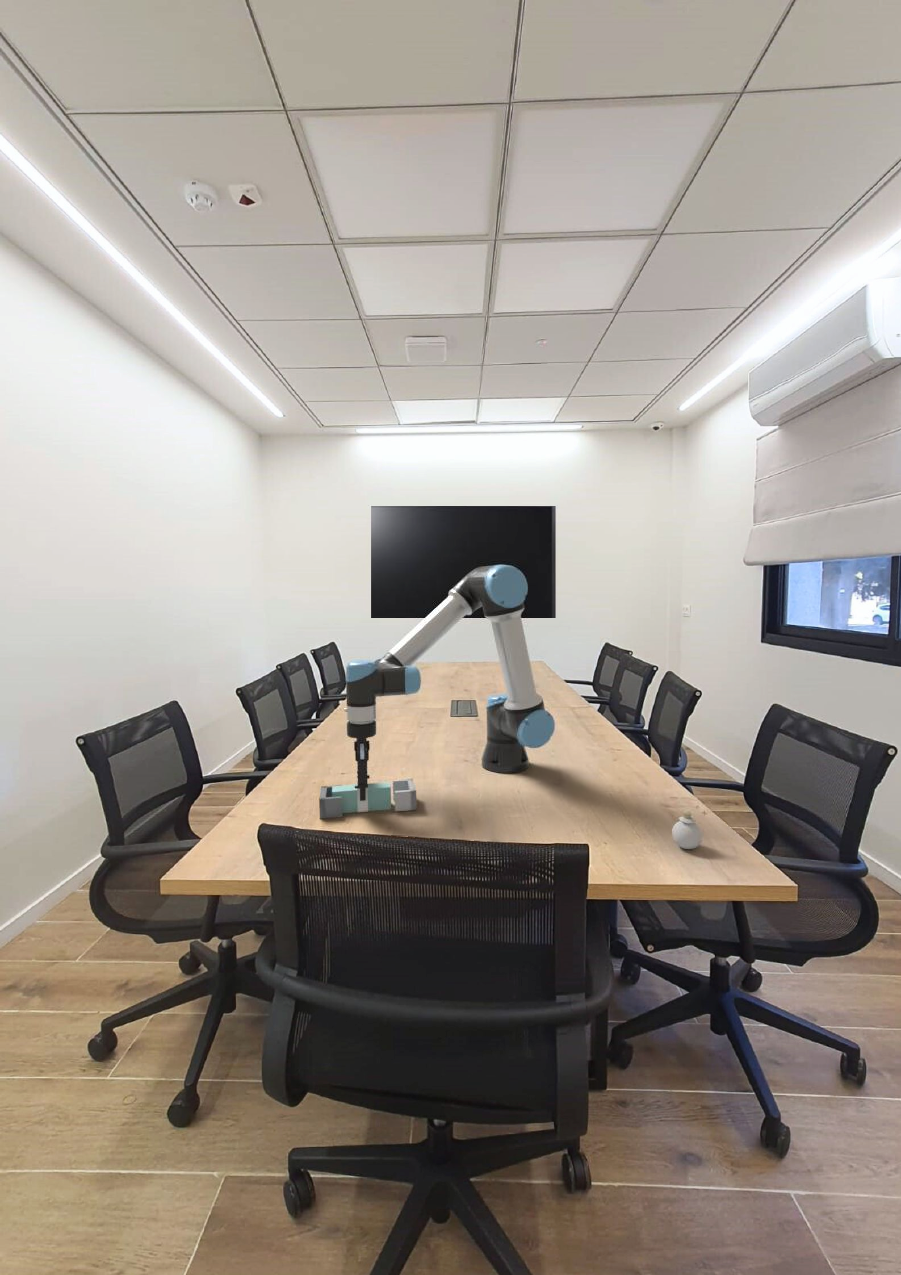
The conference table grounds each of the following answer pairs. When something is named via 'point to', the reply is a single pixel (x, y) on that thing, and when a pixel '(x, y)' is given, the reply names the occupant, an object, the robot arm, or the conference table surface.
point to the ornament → (687, 831)
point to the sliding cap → (404, 795)
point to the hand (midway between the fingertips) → (362, 807)
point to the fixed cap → (329, 803)
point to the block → (376, 796)
